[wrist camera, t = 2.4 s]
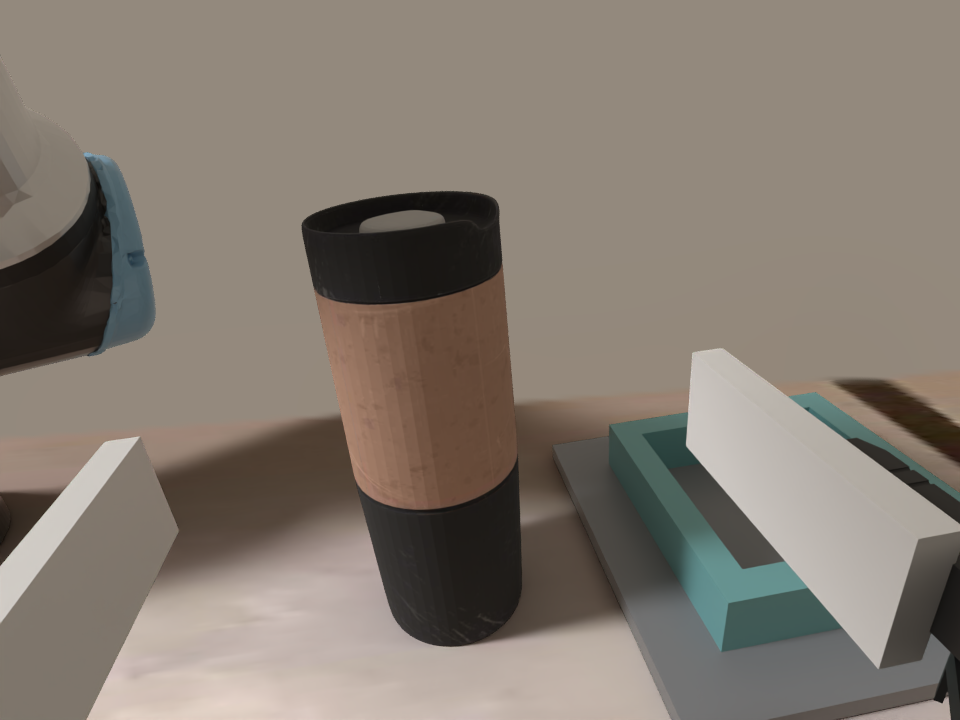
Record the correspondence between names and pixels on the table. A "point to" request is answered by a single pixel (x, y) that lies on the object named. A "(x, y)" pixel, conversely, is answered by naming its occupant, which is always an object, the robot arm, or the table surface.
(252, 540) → the table surface
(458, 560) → the travel mug
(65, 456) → the table surface
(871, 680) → the mug dock
